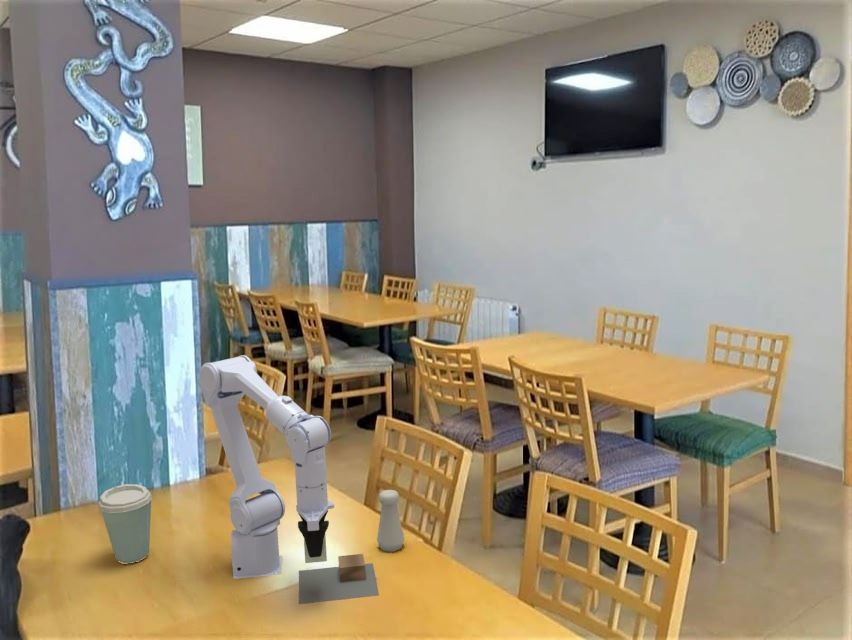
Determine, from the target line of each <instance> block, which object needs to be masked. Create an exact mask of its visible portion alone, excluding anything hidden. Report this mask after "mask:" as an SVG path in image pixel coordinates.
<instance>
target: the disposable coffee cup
mask: <svg viewBox="0 0 852 640" xmlns="http://www.w3.org/2000/svg"><path fill="white" fill-rule="evenodd" d="M99 498H100V499H99V501H98V506H97V507H98V509H99V510H100V512H101V515H102V519H103V521H104V522H103V523H104V524H105V529H106V530H107V531H106V532H107V535H108V538H109V542H110V545H111V547H112V551H113V554H114V557H115V560H116V561H117V562H118V561H120V562H123V563H130V562H131V563H132V562H136V561H140V560H141V559H143V558H145V557H146V556H147V554H148V555H149V553H150V543H151V542H150V541H151V539H150V538H151V536H150V535H151V516H152V514H151V513H152V512H151V511H152V499H153V496H152V493H151V492H150V491H149V489H147V487H146V486H144V485H140V484H131V483H127V484H126V483H125V484H120V485H117V486H113V487H111V488H109V489H106V490H104V492H103V493H102V494H101V495H100V497H99ZM147 557H148V556H147ZM147 557H146V558H147ZM140 562H141V561H140Z"/></svg>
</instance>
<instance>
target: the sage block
mask: <svg viewBox="0 0 852 640" xmlns="http://www.w3.org/2000/svg"><path fill="white" fill-rule="evenodd" d="M303 546H304V561H305V562H304V563H305V564H313V563H322V562H327V561H328V559H327V557H328V556H327V539H326V534H325V535H324V540H323V548H322V554H321V556H320V557H311V558H310V556H309V554H308V550H307V546H306V542H305V539H304V538H303Z"/></svg>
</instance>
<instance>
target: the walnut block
mask: <svg viewBox="0 0 852 640" xmlns="http://www.w3.org/2000/svg"><path fill="white" fill-rule="evenodd" d="M364 557H365V556H364V553H356V554H348V555H338V557H337V559H338V567H339V575H340V582H347V581H357V580H366V574H365V564H366V563H365V558H364Z"/></svg>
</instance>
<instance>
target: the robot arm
mask: <svg viewBox="0 0 852 640" xmlns="http://www.w3.org/2000/svg"><path fill="white" fill-rule="evenodd" d="M197 381H198V384H199V387H200V389H201V393H202V394H203V395H202V396H203V399H204V401H205V404H206V406H208V407H209V408H210V411H211V415H212V417H213V420H214V423H215V426H216V429H217V432H218V436H219V438H220V441H221V443H222V444H221V445H222V447H223V450H224V452H225V456H226V459H227V461H228V465H229V469H230V471H231V474H232V477H233V479H234V482H235V486H236V487H235V489H234V491H233V492H232V493H231V495H230V497H229V498H228V501H227V503H228V505H229V509H230V521H231V523H232V526H233V528H234V529H233V530H231V533H230V534H231V536H230V550H231V551H230V552H231V566H232V575H233V576H232V578H233V579H236V580H237V579H245V578H254V577H255V578H256V577H257V578H258V577H264V576H265V577H267V576H275V575H276V576H277V575H280V574H282V568H283V567H282V566H283V556H282V555H280V549H279V546H280V545H279V537H278V536H279V533H278V532H279V531H278V530H279V529H278V526H280V525H281V519H283V518H284V516H285V512H286V505H285V504H286V503H285V501H284V498H283V497H282V495H281V494H280V492H279V491H278V489H277V487H276V484H275V483H274V482H273V481H271V480H269V479H266V478H264V477H263V476H262V473H261V471H260V468H259V465H258V462H257V459H256V456H255V454H254V450H253V447H252V445H251V442H250V439H249V435H248V433H247V430H246V426H245V424H244V421H243V418H242V415H241V412H240V409H239V402H240V400H241V399H242V398H243V397H244V396H245V395H246V396H247V397H248V398H249V399H251V400H252V401H254V402H255V403H256V404H257V405H259V406H260V407H262V408H263V409H264V410H265V418H266V420H267V421H268V422H270V424H272V425H273V426H274V427H275V428H277V430H278V431H279V432H281V433H282V435H284V436H285V440H286V444H287V446H288V448H289V450H290V454H291V455H290V456H291V459H292V462H293V463H294V473H295V474H294V475H295V491H296V506H295V508H296V510H295V511H296V512H297V514H298V516H299V517H300V519H301V520H300V521H297V528H298V530H299V532H300V533H301V535H302V537H303V540H304V539H305V542H306V546H307V550H308V554H309V556H310V558H311V557H320V556H321V554H322V548H323V540H324V535H325V536H326V532H327V531H328V528H329V526H330V524H329V523H330V522H329V520H326V516H327V514H328V513H329V510H331V509H335V501H333V500H329V497H328V483H327V479H328V478H327V463H326V461H327V460H326V459H327V458H326V446H328V445H329V444H330V442H331V439H332V431H331V428H330V425H329V423H328V421H326V419H324V417H323V416H320V415H313V414H308V413H307V412H306V411H305V410H304V409H303V408H301V407H300V406H299V405H298V404H297V403H296V402H295V401H293V399H292V398H291V397H290V396H287V395H279V396H278V394H277V393H276V392H275V391H274V390H273V389H272V388H271V387H270V386H269V385H268V383H266V382H265V380H264V379H263V378H262V377H261V376H260V375H259V374H258V370H257V366H256V363H255V362H254V361H252V360H251V358H250V357H249V356H248V355H244V354H243V355H242V354H241V355H238V356H236V357H232V358H231V357H230V358H227V359H226V358H225V359H223V360H217V361H213V362H205V363H204V364H203V365H202V366H201V368H200V371H199V375H198V380H197ZM257 494H259V495H257ZM255 495H256V496H255ZM251 496H252V497H251ZM253 496H254V497H253ZM249 497H251V498H249ZM328 500H329V501H328Z"/></svg>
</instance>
